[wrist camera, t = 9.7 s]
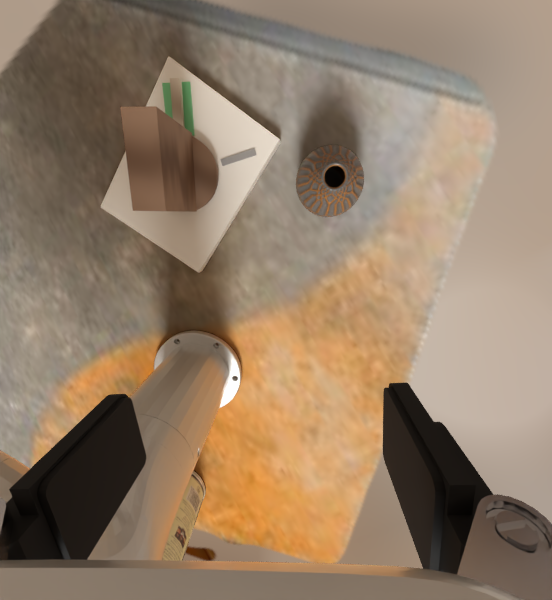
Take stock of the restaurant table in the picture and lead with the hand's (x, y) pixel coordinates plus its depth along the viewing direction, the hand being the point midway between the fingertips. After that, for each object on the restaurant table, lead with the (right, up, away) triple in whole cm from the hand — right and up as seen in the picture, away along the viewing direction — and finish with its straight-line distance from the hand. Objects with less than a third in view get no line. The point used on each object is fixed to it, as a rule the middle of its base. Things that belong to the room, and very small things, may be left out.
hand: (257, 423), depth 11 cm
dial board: (-10, +19, +24) cm, 32 cm away
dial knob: (-10, +21, +21) cm, 32 cm away
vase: (+7, +18, +23) cm, 30 cm away
